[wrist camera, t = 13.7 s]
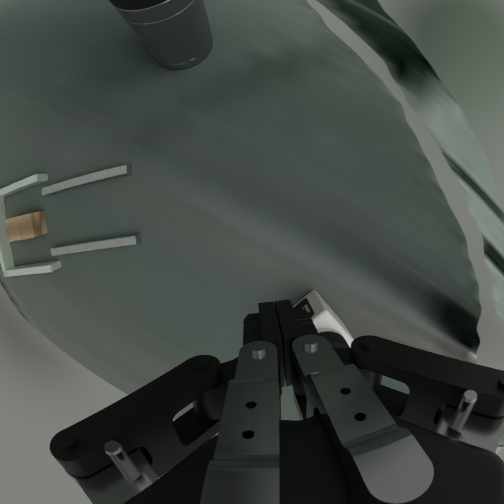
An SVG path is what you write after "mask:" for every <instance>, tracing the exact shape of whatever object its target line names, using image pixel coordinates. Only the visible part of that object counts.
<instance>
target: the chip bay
mask: <svg viewBox="0 0 504 504" xmlns="http://www.w3.org/2000/svg"><path fill="white" fill-rule="evenodd" d="M45 181H48V175H47V174H35V175H33V176H30V177H28V178H25V179H23V180H20V181H18V182H16V183H13V184H11V185H9V186H7V187H4V188H2V189H0V262H1V266H2V271H3V275H4V277H9V276H18V275H28V274H37V273H47V272H53V271H55V270H57V269H58V268H60V267H61V263H60V260H59V261H51V262H44V263H36V264H29V265H22V266H15V265H14V261H13V256H12V251H11V246H10V242H8V237H7V231H6V225H5V220H6V215H5V206H4V197H6V196H8V195H11V194H13V193H16V192H18V191H21V190H23V189H26V188H28V187H31V186H34V185H37V184H39V183H42V182H45Z"/></svg>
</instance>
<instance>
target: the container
mask: <svg viewBox="0 0 504 504" xmlns="http://www.w3.org/2000/svg"><path fill="white" fill-rule="evenodd" d="M299 308H303V309H304V310H306V311H307V312H309V314H310V316H311V319H312V321H313V323H314V325H315V327H316V329H317V331H318V333H319V335H320V336H322V337H324V338H326V339H327V340H328V341H329V343H330V344H331V346H333V347H339V348H351V343H352V341H353V340H354V339H353V337H352V336H351V334H350V333H349V331H348V330H347V328H346V327H345V325H344V324H343V322H342V321H341V319H340V318H339V317H338V316H337V315H336V314H335V312H334V311H333V310H332V309H331V308H330V307H329V306H328V304H327V303H326V302H325V301H324V300H323V299H322V298H321V296H320V295H319V294H318V293H317V292H316V291H315V290H312V291H311V292H310V293H308V294H307V295H306V296H305V297H304V298H303V299H301V300H300V301H299V302H298V303H297V304H295V305H294V306H293V309H299Z"/></svg>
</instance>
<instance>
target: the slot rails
mask: <svg viewBox="0 0 504 504" xmlns="http://www.w3.org/2000/svg"><path fill="white" fill-rule="evenodd" d="M128 174H132V166H131V165H123V166H119V167H115V168H111V169H107V170H103V171H99V172H95V173H91V174H88V175H84V176H80V177H77V178H73V179H70V180H67V181H63V182H60V183H57V184H54V185H51V186H48V187H45V188H42V196H43V195H50V194H53V193H57V192H60V191H64V190H67V189H71V188H74V187H78V186H82V185H86V184H89V183H93V182H97V181H102V180H106V179H110V178H114V177H119V176H123V175H128ZM140 242H141V236H140V234H134V235H126V236H120V237H113V238H106V239H99V240H93V241H86V242H80V243H74V244H68V245H62V246H56V247H54V248H51V254H52V256H54V255H61V254H68V253H75V252H82V251H89V250H97V249H104V248H112V247H119V246H127V245H135V244H138V243H140Z"/></svg>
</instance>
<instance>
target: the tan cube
mask: <svg viewBox="0 0 504 504" xmlns="http://www.w3.org/2000/svg"><path fill="white" fill-rule="evenodd" d="M17 221H18V228H19V234H20V240H24V239H28V238H33V237H37V236H40V235H43V234H46V233H48V232H47V226H46V219H45V212H44V211H39V212H34V213H30V214H26V215H23V216H19V217H17Z"/></svg>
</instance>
